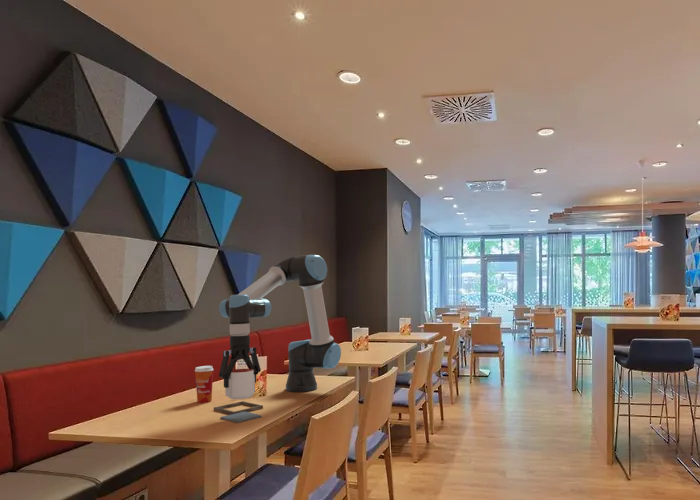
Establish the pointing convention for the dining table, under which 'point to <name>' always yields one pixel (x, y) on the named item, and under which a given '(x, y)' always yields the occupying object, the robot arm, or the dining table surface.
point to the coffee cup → (204, 383)
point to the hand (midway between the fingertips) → (240, 393)
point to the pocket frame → (223, 410)
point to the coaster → (241, 417)
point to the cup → (242, 383)
